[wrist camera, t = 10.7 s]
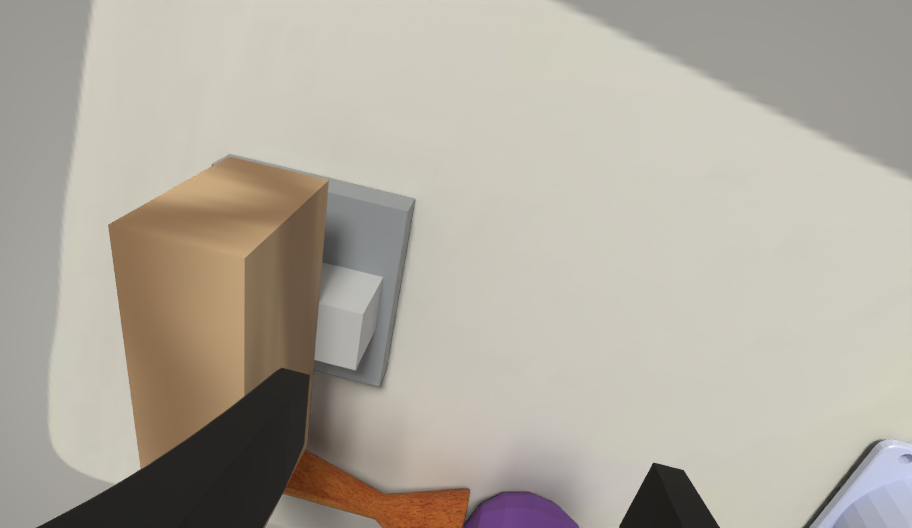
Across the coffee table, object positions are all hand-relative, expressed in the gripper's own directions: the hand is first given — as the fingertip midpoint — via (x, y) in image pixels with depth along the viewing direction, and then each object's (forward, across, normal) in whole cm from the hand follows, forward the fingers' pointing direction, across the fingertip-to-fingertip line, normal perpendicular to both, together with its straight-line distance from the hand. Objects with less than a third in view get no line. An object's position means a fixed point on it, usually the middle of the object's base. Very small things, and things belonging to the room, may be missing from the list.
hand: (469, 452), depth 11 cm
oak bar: (+6, +7, +3) cm, 10 cm away
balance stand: (+10, +7, +3) cm, 12 cm away
